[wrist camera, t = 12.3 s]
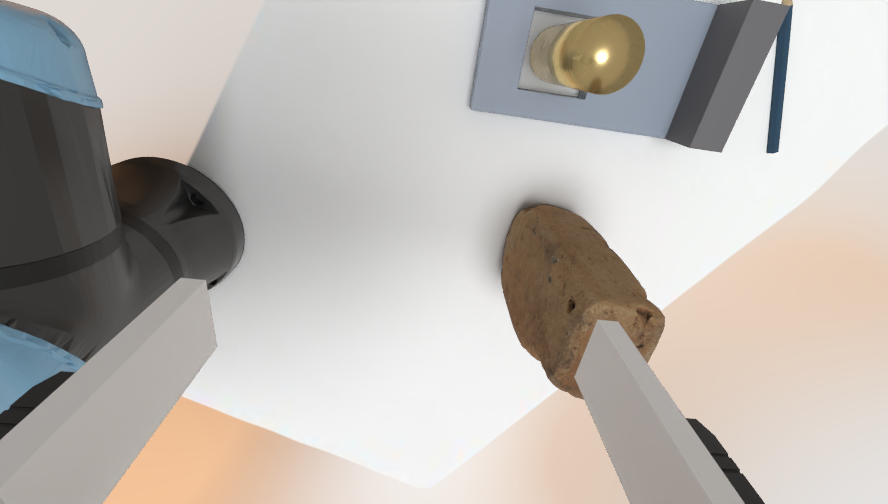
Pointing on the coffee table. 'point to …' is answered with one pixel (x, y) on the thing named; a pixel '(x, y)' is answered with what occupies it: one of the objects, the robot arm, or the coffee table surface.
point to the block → (570, 291)
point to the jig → (661, 73)
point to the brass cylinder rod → (590, 54)
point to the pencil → (779, 80)
